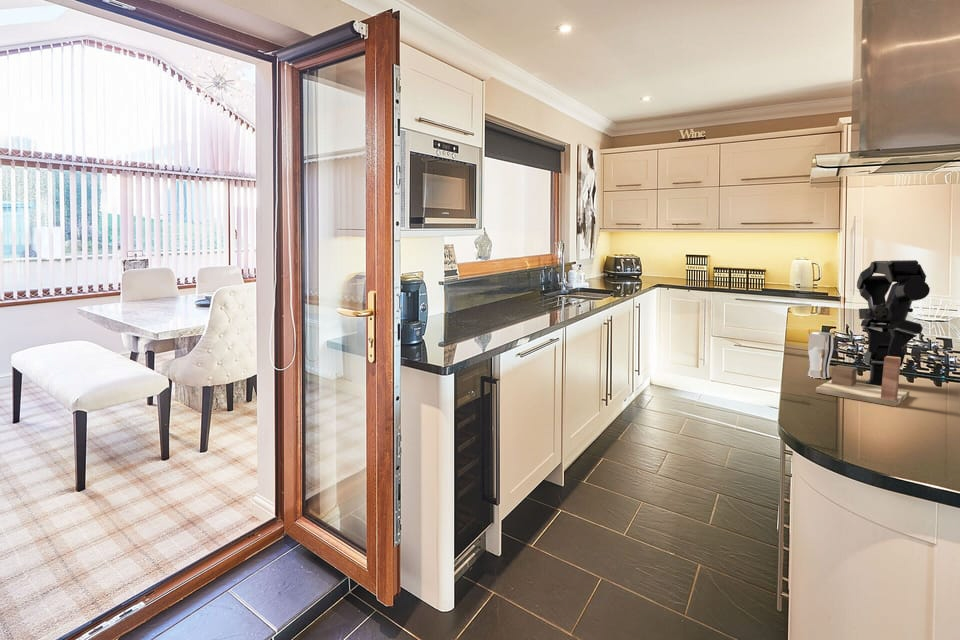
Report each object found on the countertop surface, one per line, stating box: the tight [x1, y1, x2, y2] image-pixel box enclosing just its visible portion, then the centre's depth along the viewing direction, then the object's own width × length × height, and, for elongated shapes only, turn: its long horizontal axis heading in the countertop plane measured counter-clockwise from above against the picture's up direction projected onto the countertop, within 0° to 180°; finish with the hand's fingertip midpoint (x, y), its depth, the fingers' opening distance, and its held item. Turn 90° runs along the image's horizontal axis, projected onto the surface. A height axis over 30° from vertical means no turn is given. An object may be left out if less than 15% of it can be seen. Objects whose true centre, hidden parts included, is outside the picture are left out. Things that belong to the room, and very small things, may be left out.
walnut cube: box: [831, 364, 858, 387], centre depth 154 cm, size 5×5×5 cm
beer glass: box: [807, 331, 834, 380], centre depth 168 cm, size 7×7×15 cm
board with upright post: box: [815, 356, 910, 407], centre depth 147 cm, size 15×19×13 cm
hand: (879, 353), depth 147 cm, fingers open, 9 cm apart
